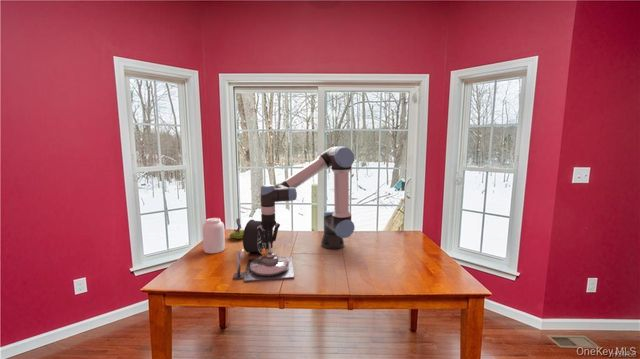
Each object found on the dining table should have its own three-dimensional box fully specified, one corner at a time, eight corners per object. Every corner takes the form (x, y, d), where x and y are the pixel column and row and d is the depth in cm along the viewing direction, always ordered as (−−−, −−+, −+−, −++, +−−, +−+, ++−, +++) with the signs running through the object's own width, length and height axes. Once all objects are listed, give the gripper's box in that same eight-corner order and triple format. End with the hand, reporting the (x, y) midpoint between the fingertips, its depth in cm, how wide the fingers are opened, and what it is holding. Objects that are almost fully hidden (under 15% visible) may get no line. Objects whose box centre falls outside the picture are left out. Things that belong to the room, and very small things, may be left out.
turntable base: (291, 258, 155) (291, 256, 155) (294, 278, 132) (293, 276, 132) (248, 261, 152) (248, 259, 151) (243, 282, 128) (243, 279, 128)
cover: (274, 258, 147) (274, 249, 146) (280, 263, 140) (280, 254, 140) (260, 261, 143) (260, 252, 142) (266, 267, 136) (266, 258, 135)
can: (207, 255, 159) (206, 223, 156) (200, 249, 168) (199, 218, 166) (228, 250, 167) (227, 219, 165) (220, 244, 176) (219, 215, 174)
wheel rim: (257, 259, 154) (257, 225, 152) (243, 257, 156) (242, 224, 154) (270, 246, 174) (270, 216, 171) (257, 245, 176) (257, 215, 173)
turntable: (279, 256, 155) (279, 244, 154) (295, 269, 138) (295, 256, 137) (245, 264, 145) (245, 251, 144) (257, 279, 128) (257, 265, 127)
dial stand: (245, 273, 136) (244, 248, 135) (243, 278, 131) (242, 252, 130) (234, 274, 136) (233, 248, 134) (233, 279, 131) (232, 252, 129)
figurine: (231, 235, 195) (230, 215, 193) (249, 234, 197) (248, 214, 195) (227, 242, 182) (226, 220, 180) (246, 241, 183) (245, 220, 181)
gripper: (276, 209, 153) (277, 248, 156) (254, 213, 146) (256, 253, 150) (281, 213, 146) (282, 253, 150) (259, 216, 140) (260, 258, 144)
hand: (269, 253), depth 150 cm, fingers closed
